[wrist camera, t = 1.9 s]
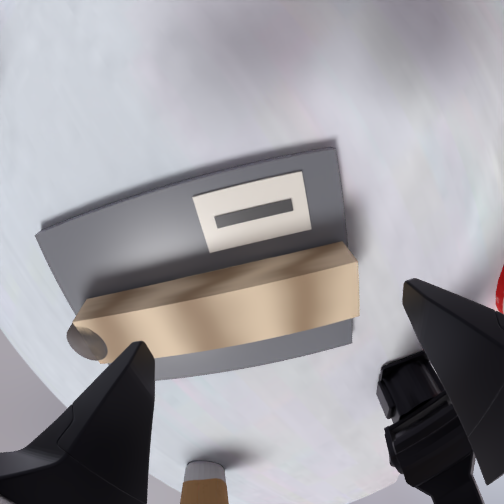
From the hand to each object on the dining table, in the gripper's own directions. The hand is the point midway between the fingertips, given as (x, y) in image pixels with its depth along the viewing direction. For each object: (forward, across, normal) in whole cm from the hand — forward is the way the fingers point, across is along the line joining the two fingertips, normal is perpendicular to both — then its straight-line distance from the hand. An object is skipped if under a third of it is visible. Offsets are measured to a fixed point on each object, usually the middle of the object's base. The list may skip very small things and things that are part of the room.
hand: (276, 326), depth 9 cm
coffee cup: (+12, +17, +39) cm, 45 cm away
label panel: (+12, +6, +5) cm, 14 cm away
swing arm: (+11, +5, +6) cm, 13 cm away
